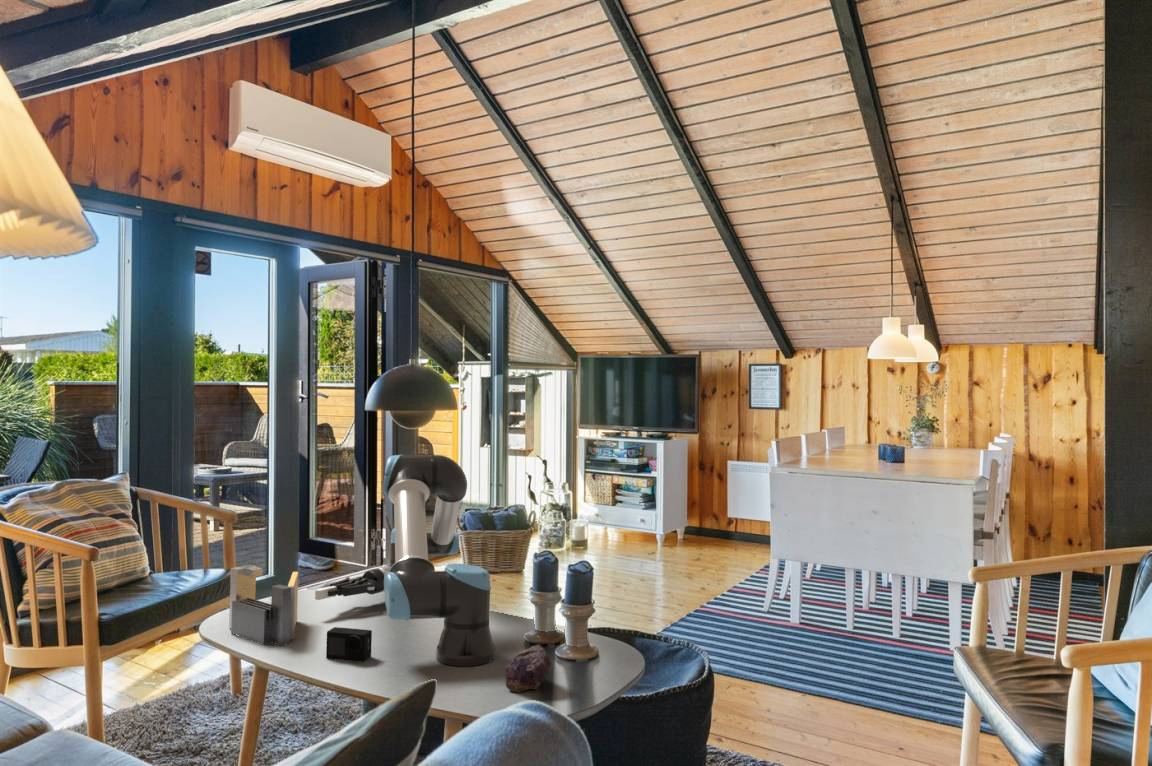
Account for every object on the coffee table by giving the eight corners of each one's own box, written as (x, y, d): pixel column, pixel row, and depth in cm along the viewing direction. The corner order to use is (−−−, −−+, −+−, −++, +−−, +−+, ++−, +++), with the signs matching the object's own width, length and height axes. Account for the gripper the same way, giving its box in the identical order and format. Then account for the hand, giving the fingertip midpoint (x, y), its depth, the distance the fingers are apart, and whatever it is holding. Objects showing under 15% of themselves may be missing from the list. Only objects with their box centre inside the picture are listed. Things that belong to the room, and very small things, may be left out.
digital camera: (323, 660, 199) (323, 632, 199) (333, 653, 204) (334, 626, 205) (361, 664, 197) (362, 636, 197) (371, 657, 202) (371, 629, 203)
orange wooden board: (293, 639, 213) (294, 587, 213) (283, 640, 212) (285, 587, 212) (298, 619, 231) (299, 571, 232) (289, 619, 231) (291, 571, 231)
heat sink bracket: (300, 640, 214) (302, 577, 214) (273, 648, 207) (275, 583, 207) (248, 623, 228) (250, 564, 228) (221, 630, 221) (223, 569, 221)
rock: (500, 694, 183) (536, 703, 178) (496, 659, 182) (533, 666, 177) (527, 672, 193) (563, 679, 188) (524, 638, 192) (560, 644, 187)
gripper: (392, 595, 249) (330, 611, 229) (364, 588, 256) (302, 603, 237) (393, 571, 249) (331, 585, 229) (365, 565, 256) (303, 578, 237)
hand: (316, 595), depth 233 cm, fingers closed
